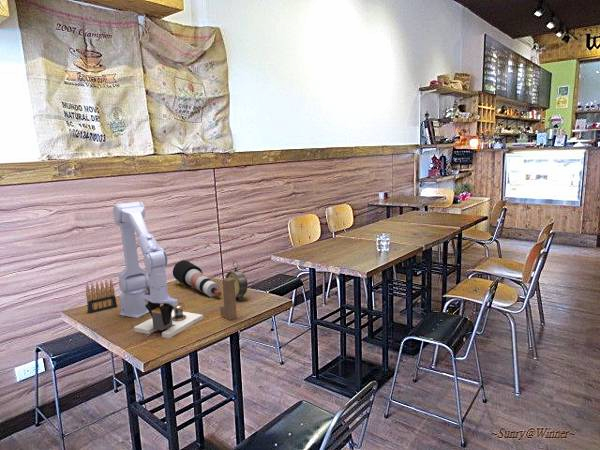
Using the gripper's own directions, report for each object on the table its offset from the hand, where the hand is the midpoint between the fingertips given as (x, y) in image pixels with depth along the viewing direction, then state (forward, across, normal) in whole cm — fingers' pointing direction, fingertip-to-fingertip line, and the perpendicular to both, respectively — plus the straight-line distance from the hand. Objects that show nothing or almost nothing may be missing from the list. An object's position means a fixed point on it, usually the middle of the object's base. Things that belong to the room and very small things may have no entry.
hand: (162, 323), depth 150 cm
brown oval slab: (+3, +35, -24) cm, 42 cm away
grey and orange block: (+2, 0, 0) cm, 2 cm away
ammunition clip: (+3, +39, -8) cm, 40 cm away
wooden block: (+3, -14, -20) cm, 24 cm away
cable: (+3, +16, -41) cm, 44 cm away
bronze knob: (+2, 0, -8) cm, 9 cm away
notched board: (+3, +2, -6) cm, 7 cm away
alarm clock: (+3, -6, -38) cm, 38 cm away
